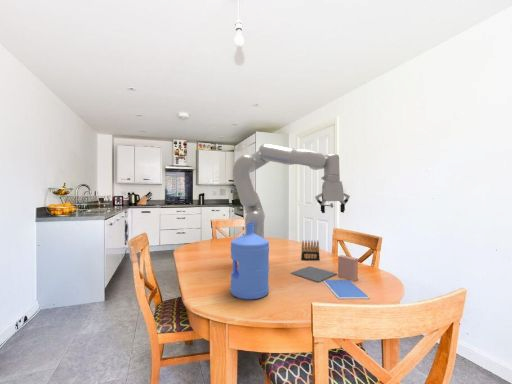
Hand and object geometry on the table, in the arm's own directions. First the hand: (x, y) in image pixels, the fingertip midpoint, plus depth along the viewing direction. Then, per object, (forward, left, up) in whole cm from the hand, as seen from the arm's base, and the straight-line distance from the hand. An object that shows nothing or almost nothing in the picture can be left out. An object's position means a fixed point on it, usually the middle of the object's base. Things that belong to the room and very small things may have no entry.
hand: (332, 212), depth 125 cm
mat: (-9, +5, -31) cm, 32 cm away
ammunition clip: (+11, +21, -31) cm, 39 cm away
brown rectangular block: (-1, -9, -31) cm, 32 cm away
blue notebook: (-15, -14, -31) cm, 38 cm away
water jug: (-47, +10, -31) cm, 57 cm away
